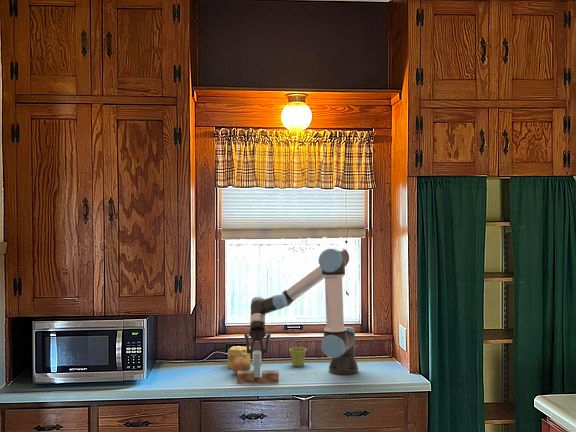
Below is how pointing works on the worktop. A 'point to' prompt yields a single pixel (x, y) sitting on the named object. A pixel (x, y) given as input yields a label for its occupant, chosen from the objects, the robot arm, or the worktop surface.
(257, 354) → the grey upright block
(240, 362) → the potato
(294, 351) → the plant pot
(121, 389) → the worktop surface
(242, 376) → the brown wooden u-shaped block
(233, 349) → the cheese
